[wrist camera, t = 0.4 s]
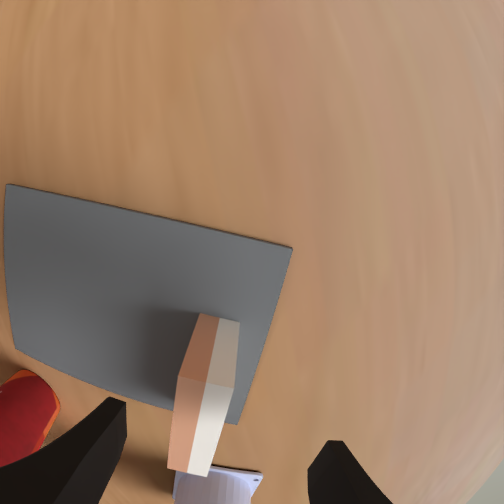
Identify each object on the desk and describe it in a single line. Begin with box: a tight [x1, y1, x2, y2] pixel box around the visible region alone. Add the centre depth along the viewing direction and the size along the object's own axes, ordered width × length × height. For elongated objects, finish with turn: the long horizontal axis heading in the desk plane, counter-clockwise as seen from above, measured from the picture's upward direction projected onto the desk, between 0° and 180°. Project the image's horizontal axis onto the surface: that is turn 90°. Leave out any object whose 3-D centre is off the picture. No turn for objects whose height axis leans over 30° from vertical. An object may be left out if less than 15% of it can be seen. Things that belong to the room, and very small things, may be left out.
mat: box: [4, 184, 293, 425], centre depth 18 cm, size 14×20×1 cm
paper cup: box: [0, 369, 60, 467], centre depth 14 cm, size 8×8×14 cm
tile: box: [167, 313, 240, 477], centre depth 16 cm, size 8×2×6 cm, turn 166°
